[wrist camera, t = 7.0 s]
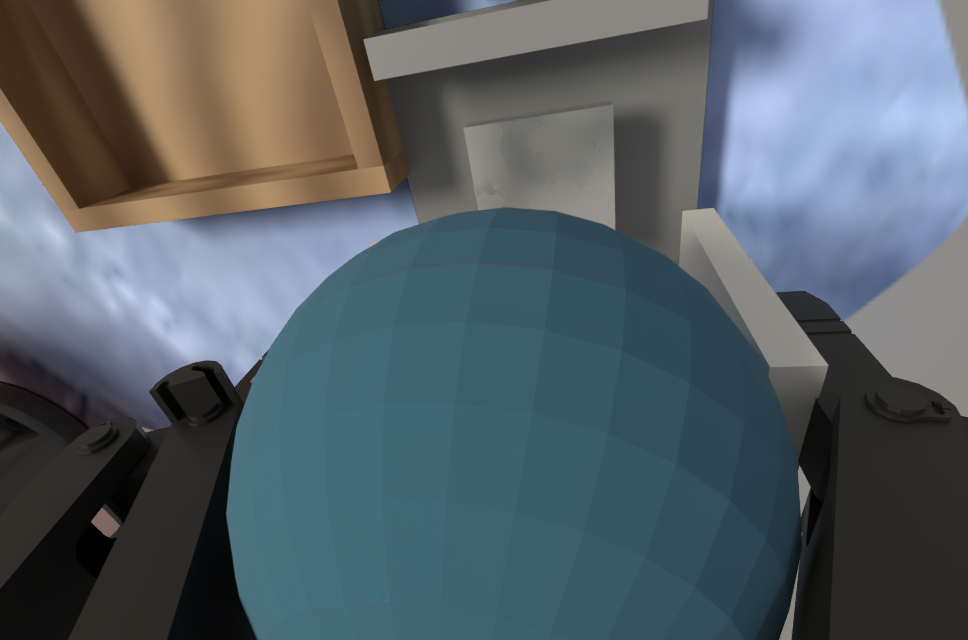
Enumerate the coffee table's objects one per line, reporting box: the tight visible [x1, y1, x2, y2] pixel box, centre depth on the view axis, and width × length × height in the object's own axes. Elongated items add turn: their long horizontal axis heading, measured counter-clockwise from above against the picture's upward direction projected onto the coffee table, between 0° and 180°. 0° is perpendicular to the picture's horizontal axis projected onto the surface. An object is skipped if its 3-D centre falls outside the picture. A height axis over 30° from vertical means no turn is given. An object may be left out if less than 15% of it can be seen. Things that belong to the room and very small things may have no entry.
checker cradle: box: [363, 0, 714, 266], centre depth 21 cm, size 14×14×5 cm
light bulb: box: [226, 207, 802, 640], centre depth 9 cm, size 8×8×12 cm
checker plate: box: [463, 101, 615, 230], centre depth 20 cm, size 6×6×1 cm
